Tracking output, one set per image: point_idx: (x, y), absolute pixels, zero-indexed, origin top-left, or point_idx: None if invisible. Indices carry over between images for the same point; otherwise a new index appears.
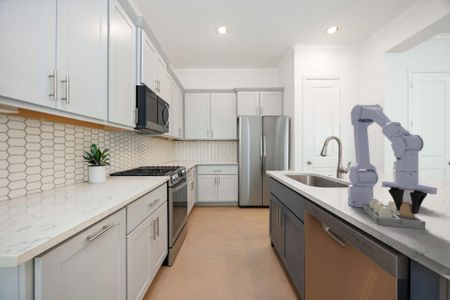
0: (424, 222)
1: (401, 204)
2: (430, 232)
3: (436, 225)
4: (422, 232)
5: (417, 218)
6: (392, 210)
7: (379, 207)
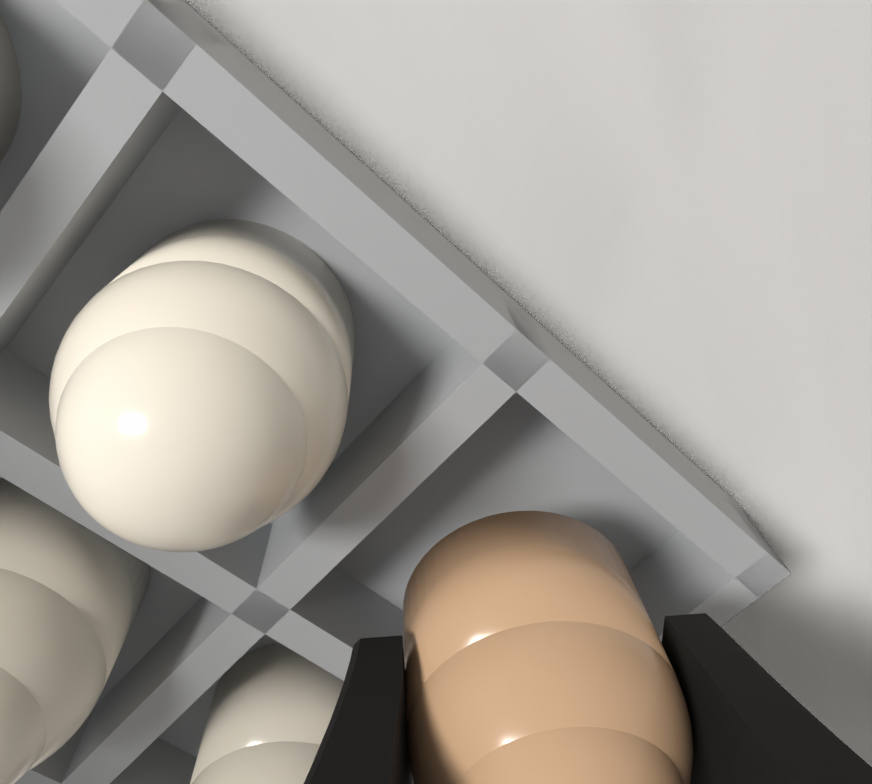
0: (774, 571)
1: (398, 773)
2: (821, 581)
3: (794, 147)
4: (760, 658)
5: (635, 490)
6: (3, 327)
7: (31, 768)
